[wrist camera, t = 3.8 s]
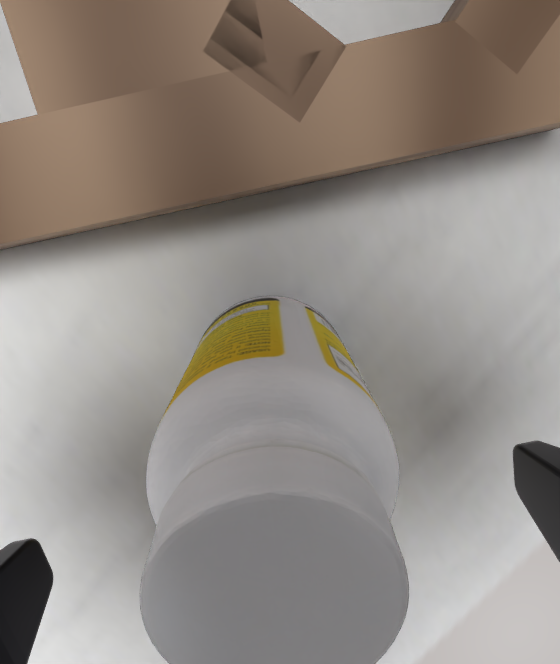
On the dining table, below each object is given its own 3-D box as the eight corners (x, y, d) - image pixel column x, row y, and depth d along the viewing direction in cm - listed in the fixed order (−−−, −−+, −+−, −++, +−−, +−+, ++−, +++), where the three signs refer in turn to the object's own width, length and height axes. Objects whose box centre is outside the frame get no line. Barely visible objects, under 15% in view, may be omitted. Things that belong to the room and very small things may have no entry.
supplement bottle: (181, 409, 16) (51, 700, 6) (220, 273, 14) (130, 387, 5) (315, 447, 16) (379, 762, 7) (365, 319, 15) (527, 498, 6)
